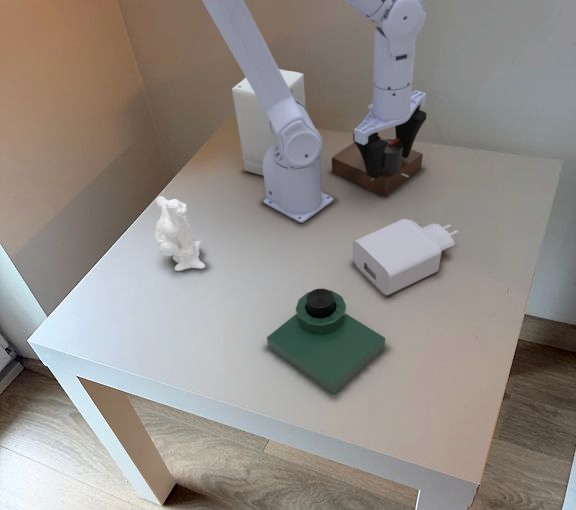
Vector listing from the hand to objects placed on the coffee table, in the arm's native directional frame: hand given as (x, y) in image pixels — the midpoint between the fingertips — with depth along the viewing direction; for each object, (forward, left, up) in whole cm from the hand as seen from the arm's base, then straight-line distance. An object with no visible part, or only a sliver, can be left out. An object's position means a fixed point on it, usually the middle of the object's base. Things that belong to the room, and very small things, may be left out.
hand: (387, 165), depth 90 cm
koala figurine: (-12, -35, -4) cm, 37 cm away
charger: (+15, -13, -4) cm, 20 cm away
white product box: (-20, -7, -4) cm, 22 cm away
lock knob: (0, 0, 0) cm, 0 cm away
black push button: (+14, -31, 0) cm, 34 cm away
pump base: (+17, -34, -3) cm, 38 cm away
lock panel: (-3, +1, -4) cm, 5 cm away
